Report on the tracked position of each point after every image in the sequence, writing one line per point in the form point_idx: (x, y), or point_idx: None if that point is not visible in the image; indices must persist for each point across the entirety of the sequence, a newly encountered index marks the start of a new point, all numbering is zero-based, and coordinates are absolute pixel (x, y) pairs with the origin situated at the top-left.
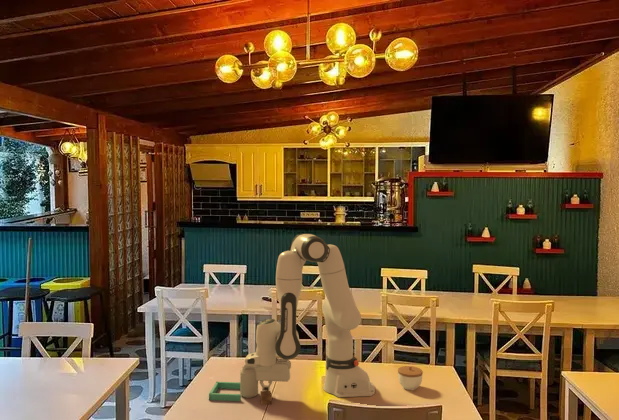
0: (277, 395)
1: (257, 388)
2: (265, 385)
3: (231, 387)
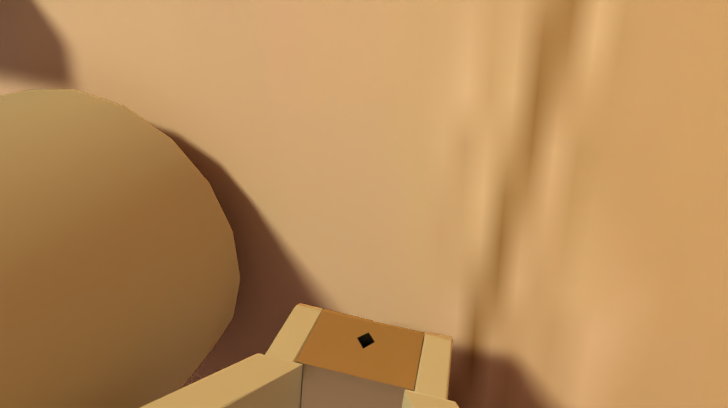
0: (616, 315)
1: (180, 371)
2: (332, 377)
3: None
